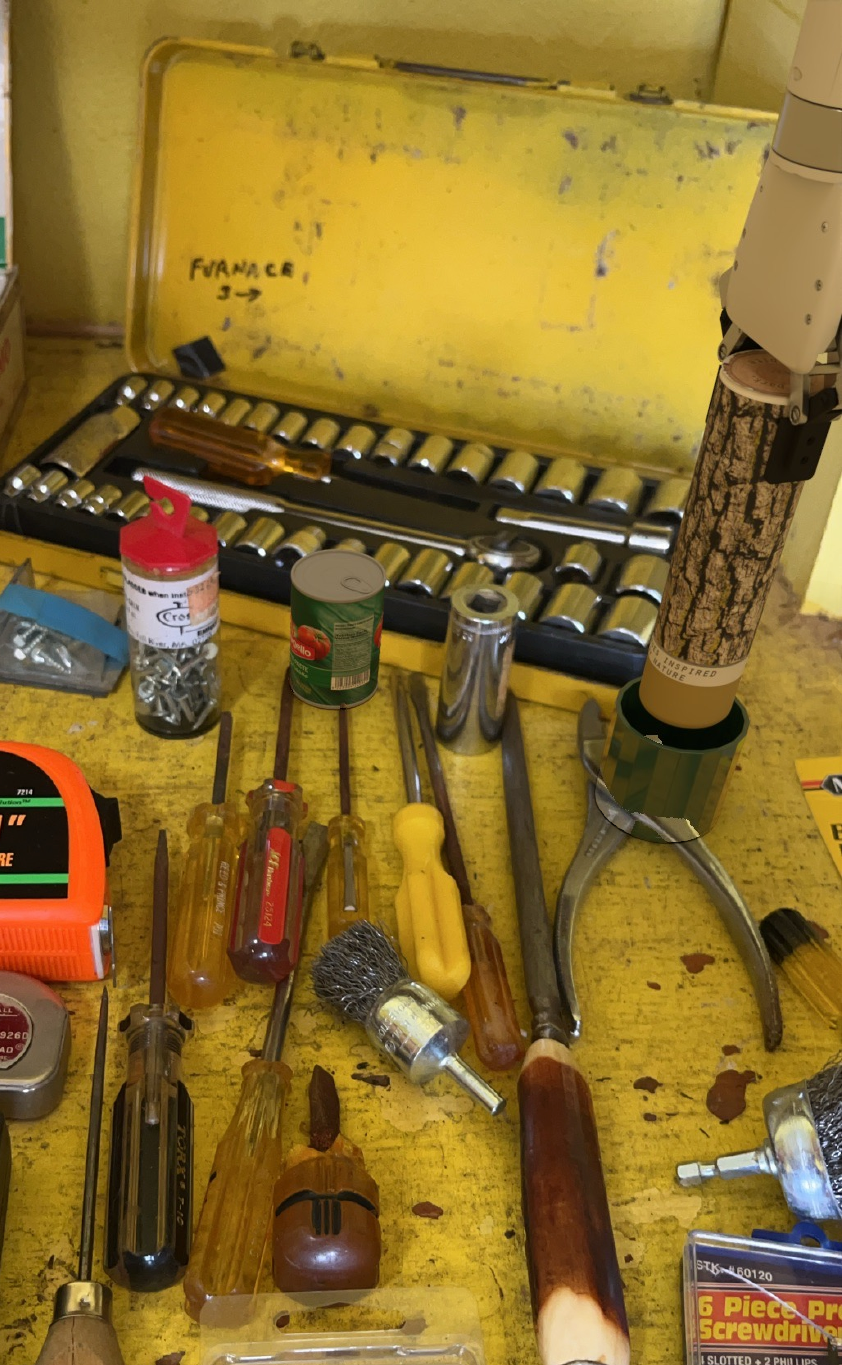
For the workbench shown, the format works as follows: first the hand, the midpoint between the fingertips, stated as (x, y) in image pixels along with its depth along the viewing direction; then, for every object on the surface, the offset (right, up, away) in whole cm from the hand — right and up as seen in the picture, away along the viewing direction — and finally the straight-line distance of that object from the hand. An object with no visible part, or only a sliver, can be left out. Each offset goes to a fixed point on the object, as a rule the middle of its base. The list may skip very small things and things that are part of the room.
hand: (757, 449), depth 79 cm
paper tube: (0, -14, +14) cm, 20 cm away
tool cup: (0, -21, +21) cm, 30 cm away
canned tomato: (-26, -10, +32) cm, 42 cm away
